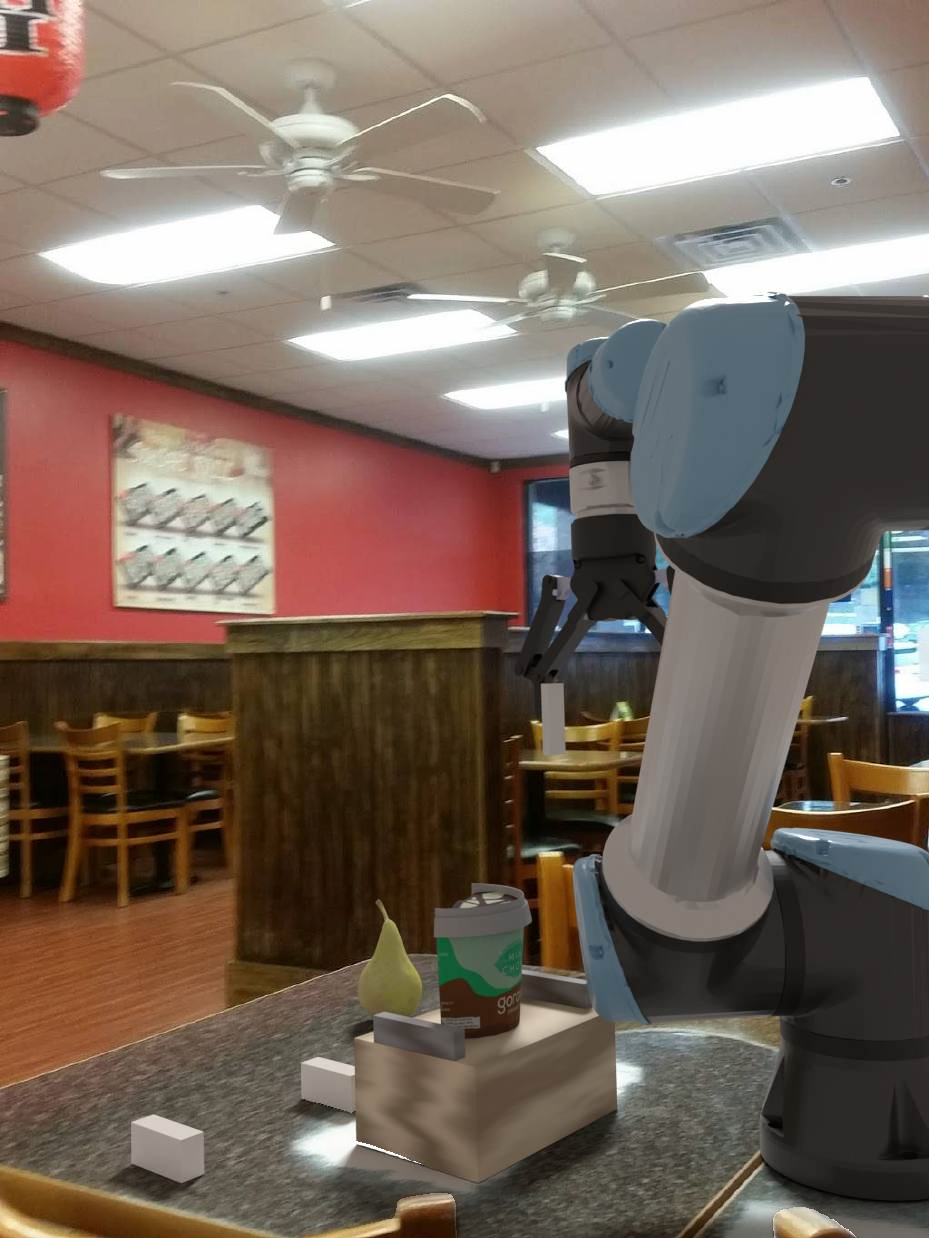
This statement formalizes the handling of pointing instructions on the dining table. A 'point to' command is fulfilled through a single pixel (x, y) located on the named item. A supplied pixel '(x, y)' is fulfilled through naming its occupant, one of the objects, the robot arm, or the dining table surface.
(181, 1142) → the pair of white blocks
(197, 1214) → the dining table surface
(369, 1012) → the fruit
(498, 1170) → the wooden stand
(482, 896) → the food container
